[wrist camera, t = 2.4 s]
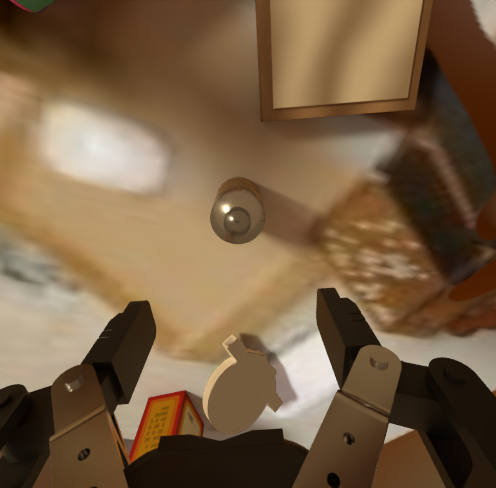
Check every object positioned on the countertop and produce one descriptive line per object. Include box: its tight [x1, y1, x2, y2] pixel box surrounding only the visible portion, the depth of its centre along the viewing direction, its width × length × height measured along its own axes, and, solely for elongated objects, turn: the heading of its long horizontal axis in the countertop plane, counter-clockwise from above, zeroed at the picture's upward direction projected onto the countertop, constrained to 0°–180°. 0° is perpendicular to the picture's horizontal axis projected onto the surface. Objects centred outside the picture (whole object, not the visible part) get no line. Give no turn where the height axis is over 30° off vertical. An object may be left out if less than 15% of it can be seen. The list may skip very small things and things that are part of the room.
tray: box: [255, 0, 433, 122], centre depth 23 cm, size 14×14×3 cm
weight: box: [210, 177, 265, 244], centre depth 27 cm, size 5×5×8 cm
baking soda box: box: [129, 390, 204, 463], centre depth 39 cm, size 10×6×16 cm
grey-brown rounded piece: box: [203, 335, 283, 434], centre depth 39 cm, size 15×8×11 cm, turn 27°
